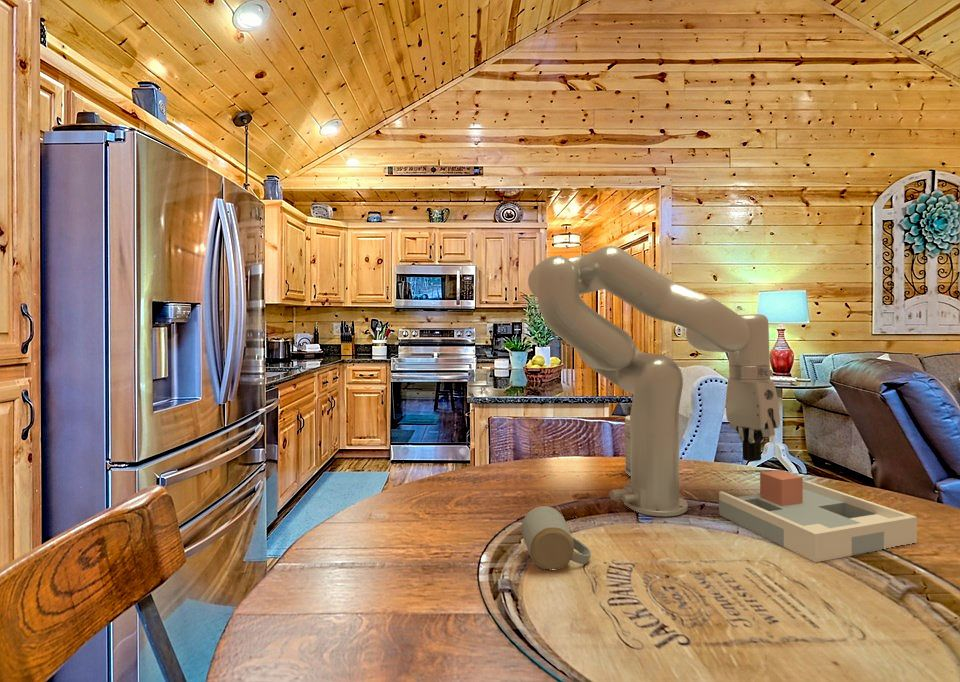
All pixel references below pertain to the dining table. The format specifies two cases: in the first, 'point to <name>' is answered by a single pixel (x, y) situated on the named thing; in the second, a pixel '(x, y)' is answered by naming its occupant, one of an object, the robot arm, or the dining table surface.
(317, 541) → the dining table surface
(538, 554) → the ceramic mug
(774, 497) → the block
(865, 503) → the board
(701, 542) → the dining table surface
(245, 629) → the dining table surface
